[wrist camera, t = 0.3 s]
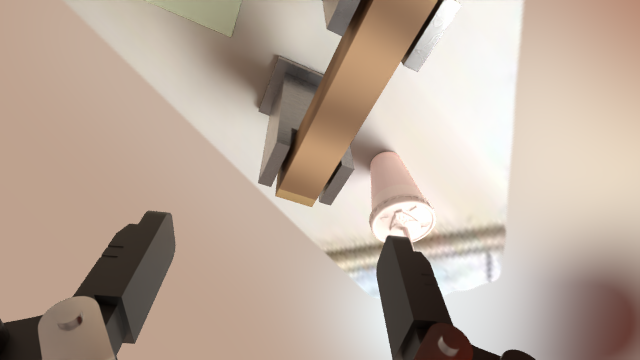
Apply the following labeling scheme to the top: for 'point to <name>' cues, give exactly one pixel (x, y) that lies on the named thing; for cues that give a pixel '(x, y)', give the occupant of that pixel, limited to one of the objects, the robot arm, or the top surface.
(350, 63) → the rail
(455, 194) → the top surface
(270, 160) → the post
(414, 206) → the smoothie
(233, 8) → the mat
